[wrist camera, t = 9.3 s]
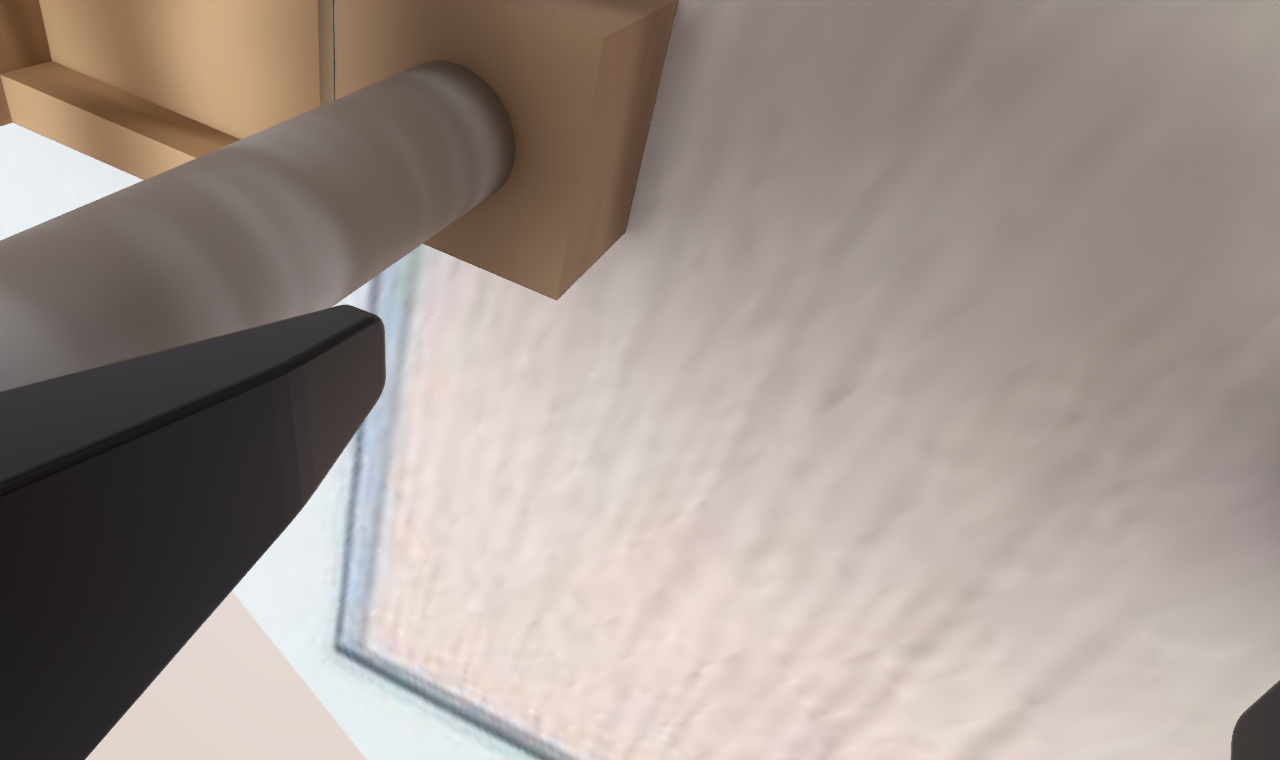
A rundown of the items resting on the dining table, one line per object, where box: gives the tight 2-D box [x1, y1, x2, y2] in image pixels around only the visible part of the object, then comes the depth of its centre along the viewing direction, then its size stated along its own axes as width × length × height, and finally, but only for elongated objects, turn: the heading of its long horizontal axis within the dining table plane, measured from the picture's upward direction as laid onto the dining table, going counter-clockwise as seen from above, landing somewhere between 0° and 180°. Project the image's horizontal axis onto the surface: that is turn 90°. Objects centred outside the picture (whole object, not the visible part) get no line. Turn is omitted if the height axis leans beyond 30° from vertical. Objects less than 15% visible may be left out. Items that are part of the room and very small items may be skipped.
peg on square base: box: [0, 0, 678, 391], centre depth 16 cm, size 6×6×15 cm
